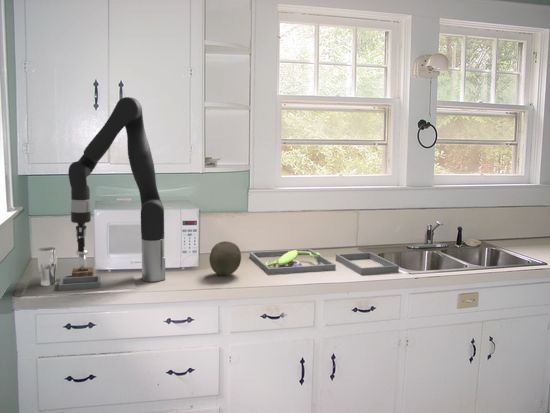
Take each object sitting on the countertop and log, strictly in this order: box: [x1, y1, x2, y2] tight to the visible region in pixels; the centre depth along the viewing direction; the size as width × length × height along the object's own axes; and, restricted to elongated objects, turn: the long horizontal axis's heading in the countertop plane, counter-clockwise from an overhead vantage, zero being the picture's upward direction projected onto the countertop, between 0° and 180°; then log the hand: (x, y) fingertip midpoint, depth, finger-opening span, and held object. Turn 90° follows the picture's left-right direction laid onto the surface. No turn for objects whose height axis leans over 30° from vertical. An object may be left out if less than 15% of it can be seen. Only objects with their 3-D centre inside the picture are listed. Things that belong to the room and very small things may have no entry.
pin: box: [75, 248, 89, 272], centre depth 216 cm, size 4×4×11 cm
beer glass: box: [37, 246, 58, 287], centre depth 206 cm, size 7×7×15 cm
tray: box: [58, 275, 102, 291], centre depth 206 cm, size 15×10×3 cm, turn 108°
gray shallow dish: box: [335, 251, 400, 276], centre depth 247 cm, size 19×27×3 cm
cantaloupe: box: [208, 241, 242, 277], centre depth 225 cm, size 14×14×15 cm
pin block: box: [71, 266, 94, 277], centre depth 217 cm, size 8×8×4 cm
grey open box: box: [249, 248, 337, 275], centre depth 250 cm, size 32×32×2 cm
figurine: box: [265, 249, 321, 268], centre depth 249 cm, size 18×27×6 cm
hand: (81, 249), depth 215 cm, fingers open, 8 cm apart
